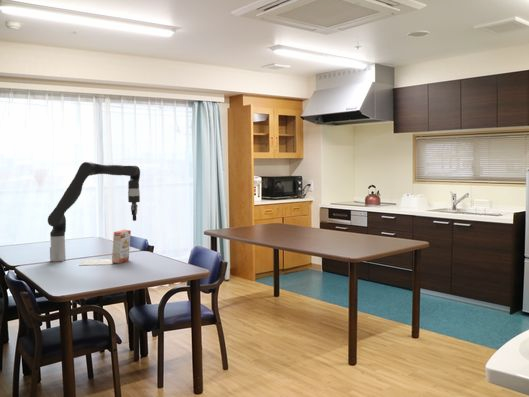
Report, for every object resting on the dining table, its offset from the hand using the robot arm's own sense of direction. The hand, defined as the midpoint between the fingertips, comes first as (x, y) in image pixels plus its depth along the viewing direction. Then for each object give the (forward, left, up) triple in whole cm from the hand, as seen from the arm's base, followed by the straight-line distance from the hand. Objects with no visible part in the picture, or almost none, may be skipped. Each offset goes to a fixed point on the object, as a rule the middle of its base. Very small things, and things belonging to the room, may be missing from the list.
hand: (134, 220), depth 333 cm
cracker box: (-10, 0, -28) cm, 30 cm away
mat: (-24, 0, -28) cm, 37 cm away
